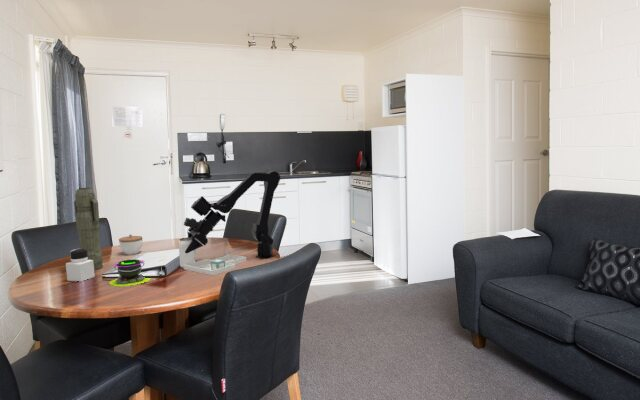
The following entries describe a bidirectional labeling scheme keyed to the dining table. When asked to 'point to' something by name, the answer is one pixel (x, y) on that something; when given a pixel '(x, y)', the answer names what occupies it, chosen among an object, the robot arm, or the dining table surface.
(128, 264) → the toy cauldron
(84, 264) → the medicine bottle
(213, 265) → the letter cube
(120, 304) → the dining table surface
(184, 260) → the can
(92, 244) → the thermos
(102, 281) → the dining table surface
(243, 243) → the dining table surface
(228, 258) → the small tray
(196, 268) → the long tray
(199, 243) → the robot arm
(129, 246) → the lidded jar
